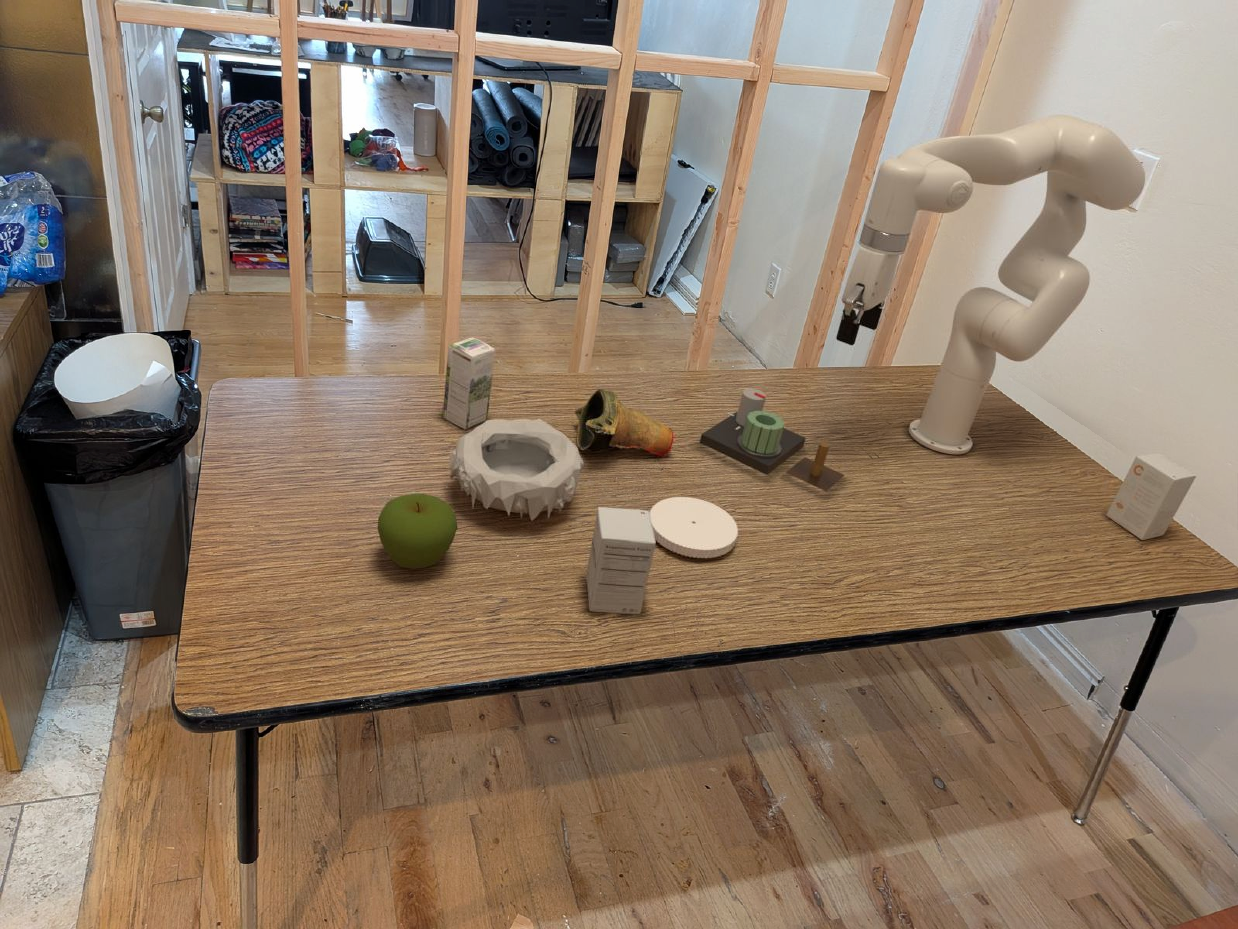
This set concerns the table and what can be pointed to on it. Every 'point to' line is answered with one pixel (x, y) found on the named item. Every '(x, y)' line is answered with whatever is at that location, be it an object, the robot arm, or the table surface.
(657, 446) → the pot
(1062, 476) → the table surface
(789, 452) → the hob
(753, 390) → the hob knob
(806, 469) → the peg stand
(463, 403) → the syrup box
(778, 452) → the burner
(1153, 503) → the small box
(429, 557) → the apple
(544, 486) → the bowl
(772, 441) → the ring
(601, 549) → the white packaging box
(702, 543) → the plastic lid
